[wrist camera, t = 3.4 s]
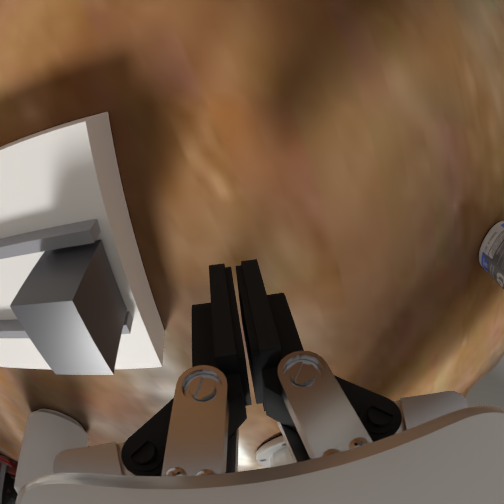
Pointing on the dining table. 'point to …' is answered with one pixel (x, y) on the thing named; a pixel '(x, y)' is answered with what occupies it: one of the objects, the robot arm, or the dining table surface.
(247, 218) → the dining table surface
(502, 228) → the pill bottle
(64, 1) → the dining table surface
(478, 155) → the dining table surface
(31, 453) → the can
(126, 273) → the panel
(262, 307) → the robot arm
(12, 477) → the hourglass
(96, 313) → the slider
